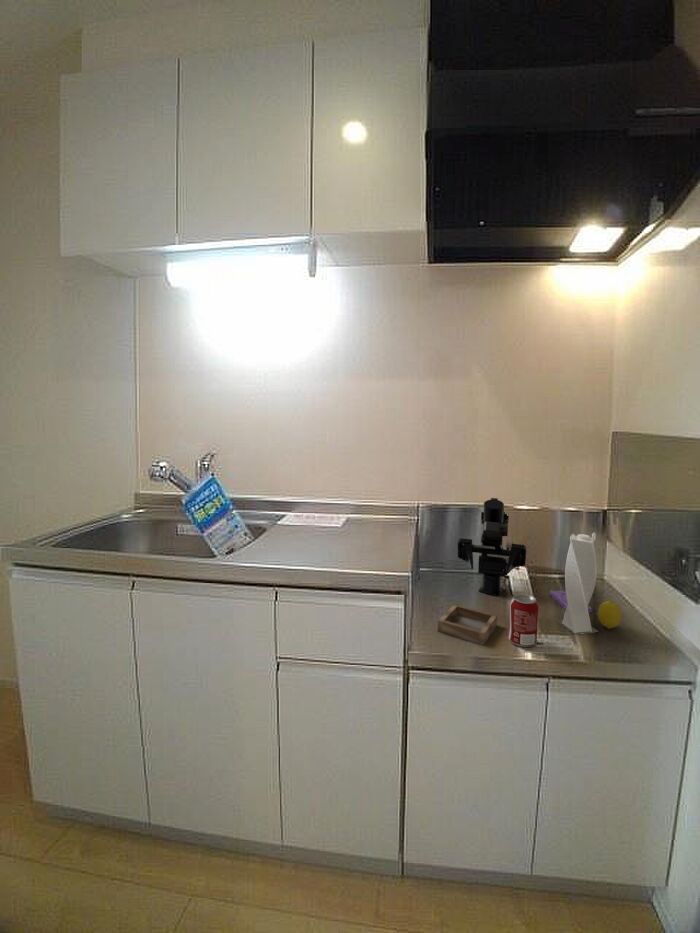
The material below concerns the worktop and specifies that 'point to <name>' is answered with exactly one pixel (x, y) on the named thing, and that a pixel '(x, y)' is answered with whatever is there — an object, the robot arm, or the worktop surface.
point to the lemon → (609, 614)
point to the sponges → (562, 598)
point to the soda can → (523, 620)
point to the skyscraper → (579, 583)
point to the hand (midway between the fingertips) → (489, 570)
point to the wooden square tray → (467, 624)
